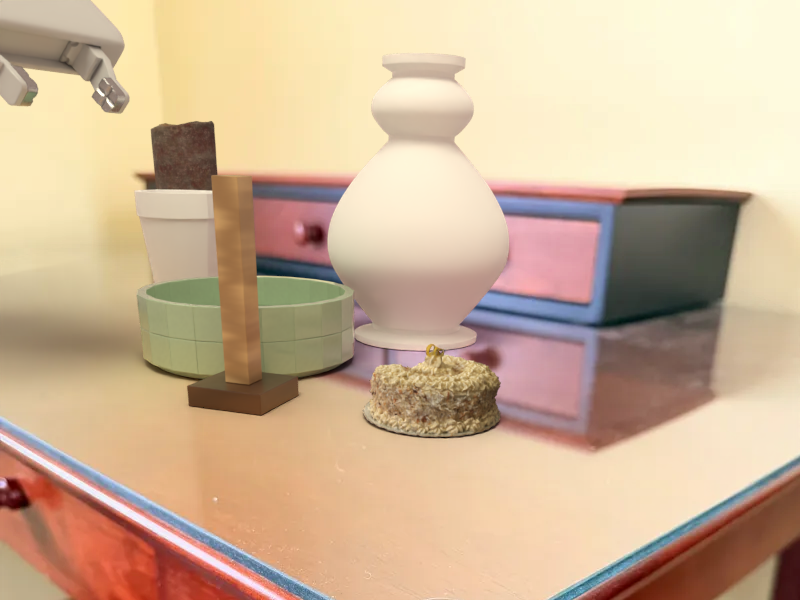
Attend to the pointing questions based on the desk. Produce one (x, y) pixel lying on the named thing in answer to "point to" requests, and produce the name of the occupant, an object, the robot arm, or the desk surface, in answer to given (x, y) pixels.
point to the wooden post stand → (239, 311)
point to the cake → (434, 397)
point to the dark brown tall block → (184, 156)
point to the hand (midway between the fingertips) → (76, 103)
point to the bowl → (278, 321)
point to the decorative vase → (419, 215)
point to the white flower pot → (178, 232)
